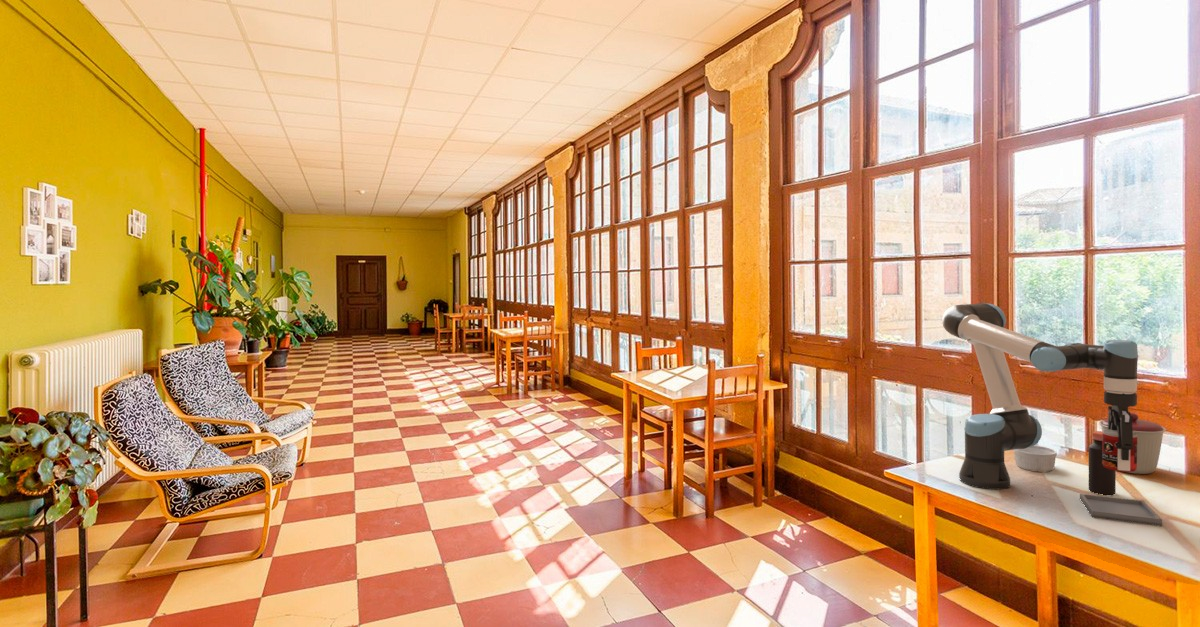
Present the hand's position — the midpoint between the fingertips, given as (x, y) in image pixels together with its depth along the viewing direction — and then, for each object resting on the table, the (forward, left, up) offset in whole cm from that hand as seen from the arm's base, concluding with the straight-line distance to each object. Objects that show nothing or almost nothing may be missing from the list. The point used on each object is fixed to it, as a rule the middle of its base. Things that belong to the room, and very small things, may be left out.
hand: (1119, 465), depth 177 cm
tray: (0, 0, -14) cm, 14 cm away
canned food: (0, 0, -1) cm, 1 cm away
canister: (+15, +49, -15) cm, 53 cm away
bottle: (0, +18, -15) cm, 23 cm away
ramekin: (-15, +40, -15) cm, 45 cm away
